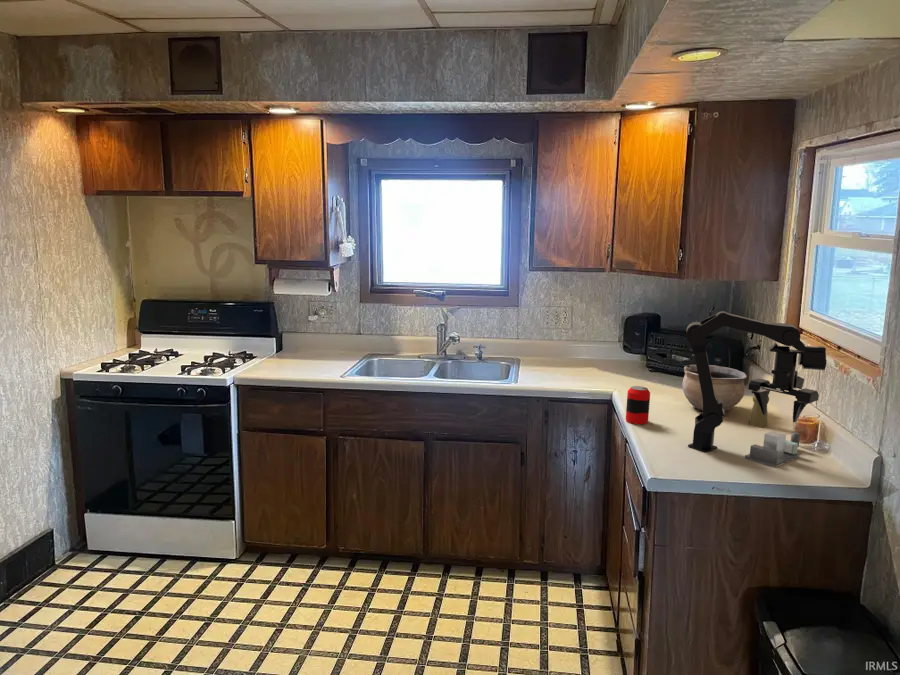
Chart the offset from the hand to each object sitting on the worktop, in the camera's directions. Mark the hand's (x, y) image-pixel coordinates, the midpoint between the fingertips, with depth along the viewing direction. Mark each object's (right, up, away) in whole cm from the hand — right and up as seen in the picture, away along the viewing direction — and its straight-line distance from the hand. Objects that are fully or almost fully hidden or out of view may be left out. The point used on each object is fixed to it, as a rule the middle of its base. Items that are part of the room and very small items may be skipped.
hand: (779, 418), depth 203 cm
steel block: (-1, -11, +2) cm, 11 cm away
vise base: (-1, -12, +2) cm, 12 cm away
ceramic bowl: (-1, -3, +51) cm, 51 cm away
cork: (+9, -6, +34) cm, 36 cm away
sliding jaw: (+6, -10, +7) cm, 14 cm away
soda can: (-33, -5, +35) cm, 48 cm away
